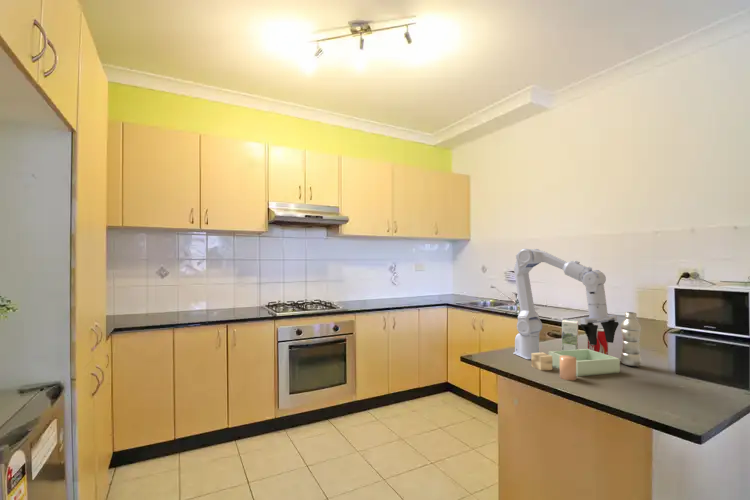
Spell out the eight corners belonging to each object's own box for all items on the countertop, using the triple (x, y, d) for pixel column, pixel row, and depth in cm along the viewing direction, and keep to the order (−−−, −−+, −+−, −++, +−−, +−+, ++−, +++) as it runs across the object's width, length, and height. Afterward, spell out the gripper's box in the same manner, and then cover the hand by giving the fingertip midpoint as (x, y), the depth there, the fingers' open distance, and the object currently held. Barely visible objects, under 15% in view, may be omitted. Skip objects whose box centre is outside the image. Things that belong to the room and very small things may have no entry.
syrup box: (578, 355, 153) (578, 320, 153) (577, 358, 148) (577, 322, 148) (562, 352, 156) (563, 318, 156) (561, 356, 151) (561, 320, 151)
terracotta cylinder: (556, 376, 125) (556, 355, 125) (568, 375, 127) (568, 354, 127) (567, 381, 120) (567, 359, 121) (579, 379, 122) (579, 358, 122)
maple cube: (531, 366, 136) (531, 353, 136) (542, 365, 137) (542, 352, 138) (540, 370, 131) (540, 356, 131) (552, 369, 133) (552, 356, 133)
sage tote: (548, 364, 139) (548, 351, 139) (587, 361, 143) (587, 348, 143) (577, 376, 125) (577, 361, 125) (619, 372, 130) (619, 358, 130)
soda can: (607, 362, 142) (607, 331, 142) (586, 359, 146) (586, 329, 146) (609, 358, 148) (609, 329, 148) (588, 355, 152) (588, 326, 152)
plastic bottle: (634, 363, 142) (634, 311, 142) (645, 368, 135) (645, 314, 135) (616, 362, 142) (616, 311, 142) (626, 367, 135) (626, 313, 136)
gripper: (590, 306, 124) (595, 347, 122) (622, 303, 128) (628, 342, 127) (573, 305, 130) (578, 344, 129) (604, 302, 135) (609, 340, 133)
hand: (601, 343), depth 128 cm, fingers open, 7 cm apart
